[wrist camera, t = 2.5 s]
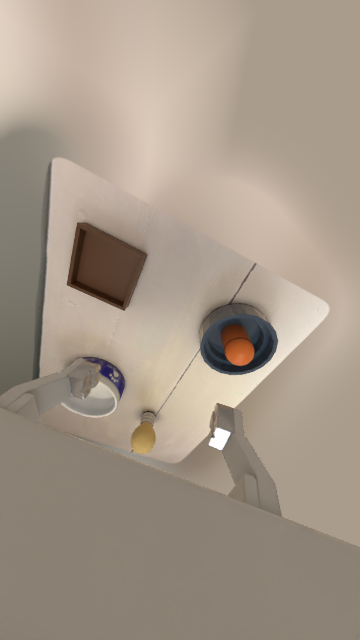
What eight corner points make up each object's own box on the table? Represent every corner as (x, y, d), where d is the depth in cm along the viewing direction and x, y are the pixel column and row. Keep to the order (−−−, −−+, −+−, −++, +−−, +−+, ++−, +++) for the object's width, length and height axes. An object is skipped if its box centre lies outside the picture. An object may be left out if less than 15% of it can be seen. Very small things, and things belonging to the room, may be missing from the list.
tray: (85, 222, 29) (76, 222, 27) (147, 254, 31) (144, 256, 29) (74, 281, 35) (66, 285, 32) (128, 305, 36) (124, 310, 34)
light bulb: (139, 420, 55) (129, 457, 46) (137, 406, 52) (126, 444, 43) (159, 421, 55) (153, 459, 46) (159, 408, 52) (152, 446, 43)
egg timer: (242, 320, 35) (254, 344, 28) (249, 340, 38) (261, 367, 31) (217, 328, 37) (222, 353, 30) (224, 347, 39) (231, 375, 32)
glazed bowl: (259, 292, 33) (269, 302, 29) (273, 348, 39) (283, 364, 34) (189, 317, 37) (189, 329, 32) (212, 365, 42) (214, 381, 38)
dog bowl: (137, 380, 47) (129, 400, 41) (106, 405, 52) (96, 425, 47) (86, 346, 42) (71, 363, 37) (59, 377, 48) (42, 396, 43)
